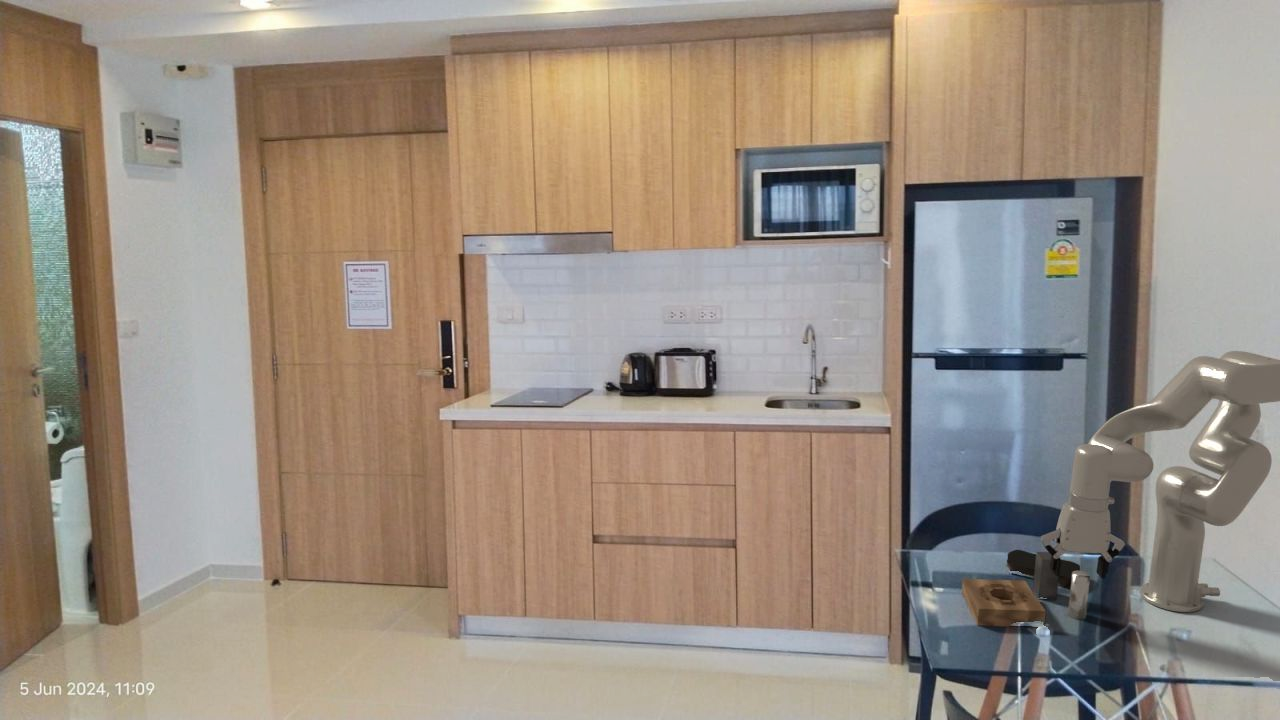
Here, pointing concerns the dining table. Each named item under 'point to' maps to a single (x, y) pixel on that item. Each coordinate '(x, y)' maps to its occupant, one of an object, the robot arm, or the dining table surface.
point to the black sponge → (1026, 566)
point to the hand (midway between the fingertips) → (1077, 574)
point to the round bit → (1078, 595)
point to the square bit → (1044, 577)
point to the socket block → (1001, 602)
